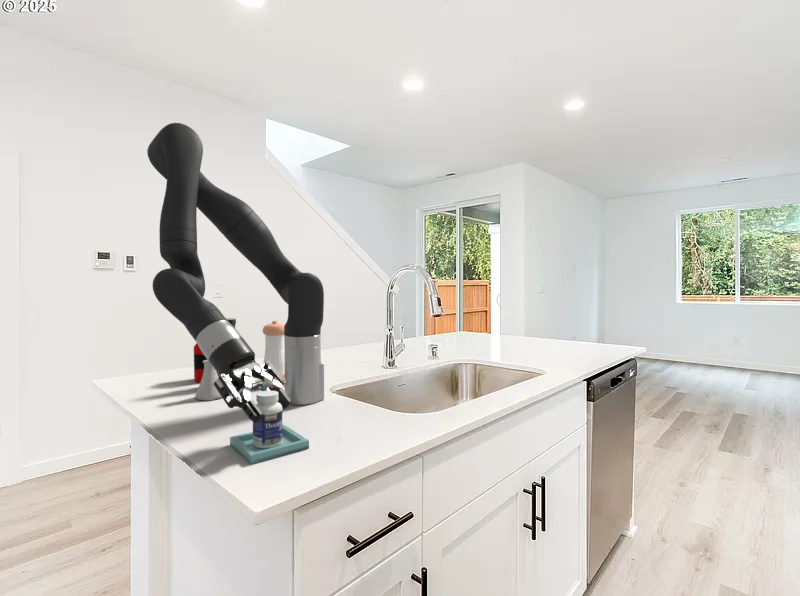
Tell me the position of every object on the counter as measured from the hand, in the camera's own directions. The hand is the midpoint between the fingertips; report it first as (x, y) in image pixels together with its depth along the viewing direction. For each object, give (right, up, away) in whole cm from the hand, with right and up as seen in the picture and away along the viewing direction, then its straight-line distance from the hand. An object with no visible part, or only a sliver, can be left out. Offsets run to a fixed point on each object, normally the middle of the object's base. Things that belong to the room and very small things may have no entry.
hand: (274, 412), depth 81 cm
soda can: (-36, -4, +53) cm, 65 cm away
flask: (-27, -5, +34) cm, 44 cm away
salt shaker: (-14, -5, +48) cm, 50 cm away
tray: (-1, -7, +1) cm, 7 cm away
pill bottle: (-2, -6, +1) cm, 7 cm away
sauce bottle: (-27, -5, +47) cm, 54 cm away
